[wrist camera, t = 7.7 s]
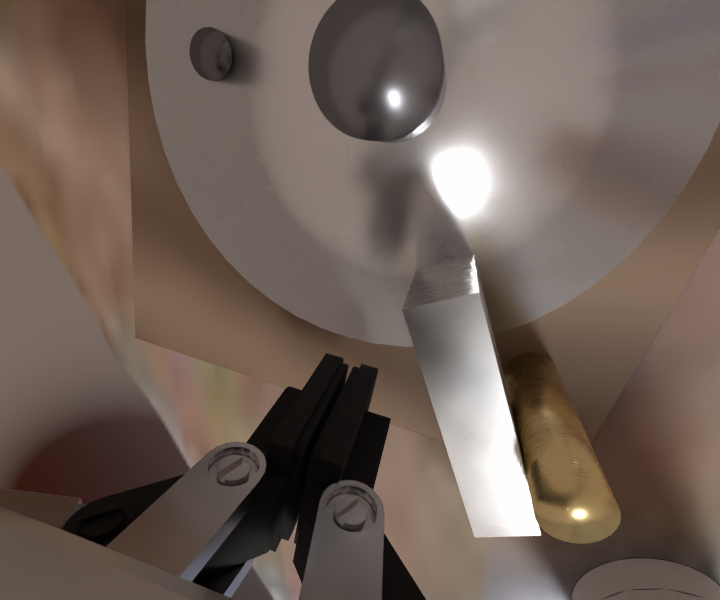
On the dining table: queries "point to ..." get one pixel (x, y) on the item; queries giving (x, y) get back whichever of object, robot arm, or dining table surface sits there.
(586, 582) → the cup
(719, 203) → the base board
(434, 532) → the dining table surface
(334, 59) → the post and dowel
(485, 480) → the flange plate
